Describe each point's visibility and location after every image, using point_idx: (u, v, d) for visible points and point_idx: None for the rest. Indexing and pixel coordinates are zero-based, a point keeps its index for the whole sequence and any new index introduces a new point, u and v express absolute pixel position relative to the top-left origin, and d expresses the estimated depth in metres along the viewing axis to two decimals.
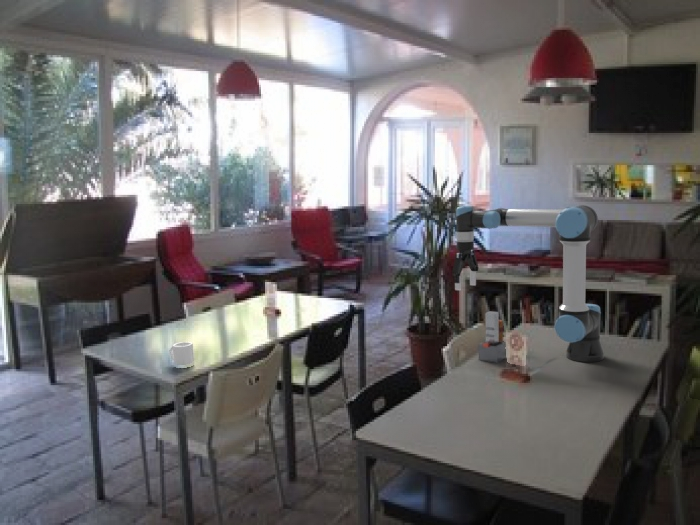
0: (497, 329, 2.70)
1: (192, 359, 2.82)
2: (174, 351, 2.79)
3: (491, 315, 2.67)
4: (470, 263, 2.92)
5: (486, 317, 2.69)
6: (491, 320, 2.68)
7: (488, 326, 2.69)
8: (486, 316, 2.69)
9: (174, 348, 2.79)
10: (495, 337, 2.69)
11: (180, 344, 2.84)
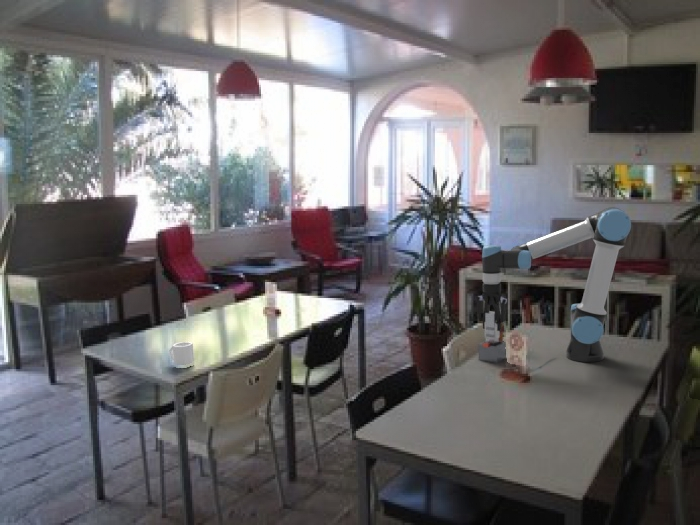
0: None
1: (192, 359, 2.82)
2: (174, 351, 2.79)
3: (491, 315, 2.67)
4: None
5: (486, 317, 2.69)
6: (491, 320, 2.68)
7: (488, 326, 2.69)
8: (486, 316, 2.69)
9: (174, 348, 2.79)
10: None
11: (180, 344, 2.84)
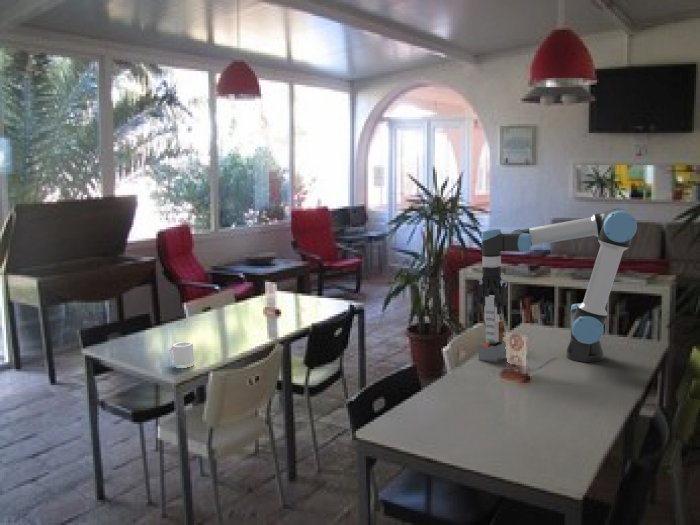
0: None
1: (192, 359, 2.82)
2: (174, 351, 2.79)
3: (491, 299, 2.66)
4: None
5: (486, 301, 2.68)
6: (491, 303, 2.67)
7: (488, 310, 2.68)
8: (486, 300, 2.68)
9: (174, 348, 2.79)
10: None
11: (180, 344, 2.84)
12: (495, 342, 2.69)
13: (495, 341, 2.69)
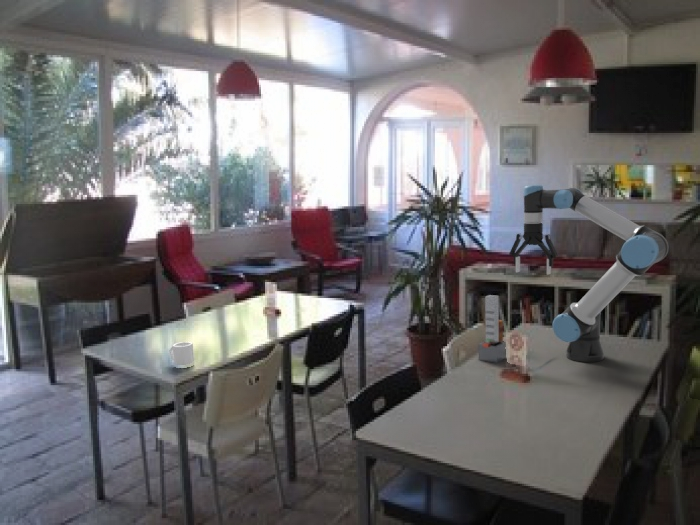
0: (497, 313, 2.69)
1: (192, 359, 2.82)
2: (174, 351, 2.79)
3: (491, 299, 2.66)
4: None
5: (486, 301, 2.68)
6: (491, 303, 2.67)
7: (488, 310, 2.68)
8: (486, 300, 2.68)
9: (174, 348, 2.79)
10: (495, 321, 2.68)
11: (180, 344, 2.84)
12: (495, 342, 2.69)
13: (495, 341, 2.69)
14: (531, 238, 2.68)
